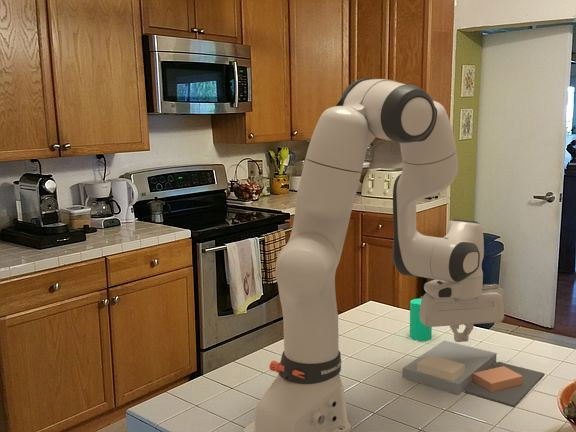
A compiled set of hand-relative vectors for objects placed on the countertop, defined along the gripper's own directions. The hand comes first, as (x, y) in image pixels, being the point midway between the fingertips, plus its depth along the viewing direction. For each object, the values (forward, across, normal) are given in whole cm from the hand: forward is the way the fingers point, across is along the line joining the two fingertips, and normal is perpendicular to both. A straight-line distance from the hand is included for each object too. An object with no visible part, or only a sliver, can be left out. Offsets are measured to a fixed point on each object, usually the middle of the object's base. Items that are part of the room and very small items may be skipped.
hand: (461, 341), depth 138 cm
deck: (+7, +2, 0) cm, 8 cm away
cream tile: (+5, +8, +6) cm, 11 cm away
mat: (+7, -7, +9) cm, 14 cm away
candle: (+8, +2, -22) cm, 23 cm away
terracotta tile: (+7, -5, +9) cm, 12 cm away
